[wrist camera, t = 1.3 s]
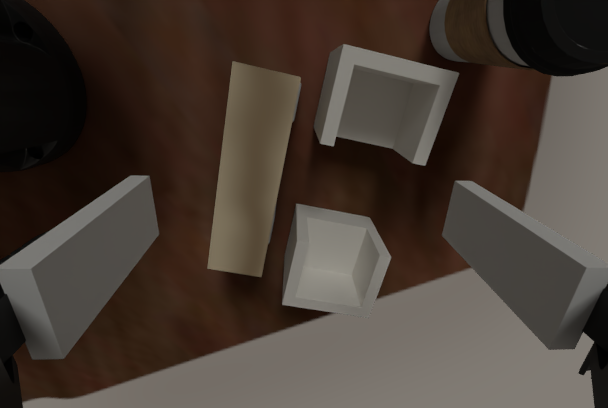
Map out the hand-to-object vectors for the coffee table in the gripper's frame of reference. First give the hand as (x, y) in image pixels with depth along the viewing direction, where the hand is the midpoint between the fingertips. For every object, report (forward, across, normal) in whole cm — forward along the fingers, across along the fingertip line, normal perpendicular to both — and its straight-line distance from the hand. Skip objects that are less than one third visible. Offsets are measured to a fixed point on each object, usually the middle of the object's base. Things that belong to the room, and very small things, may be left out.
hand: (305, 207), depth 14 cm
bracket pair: (+17, +5, -4) cm, 19 cm away
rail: (+15, -4, -2) cm, 15 cm away
